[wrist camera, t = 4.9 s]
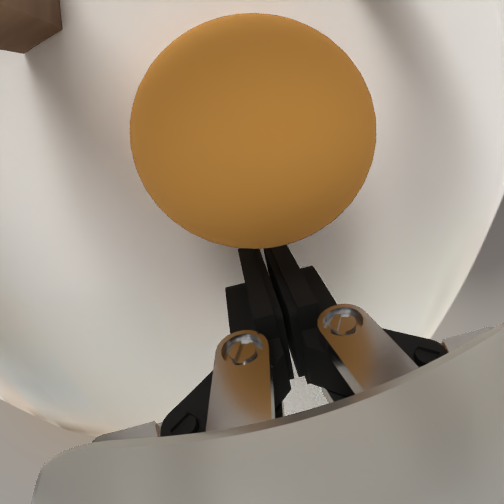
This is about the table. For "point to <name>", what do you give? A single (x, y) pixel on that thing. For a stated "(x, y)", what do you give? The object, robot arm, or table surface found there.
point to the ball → (253, 130)
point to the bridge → (27, 23)
